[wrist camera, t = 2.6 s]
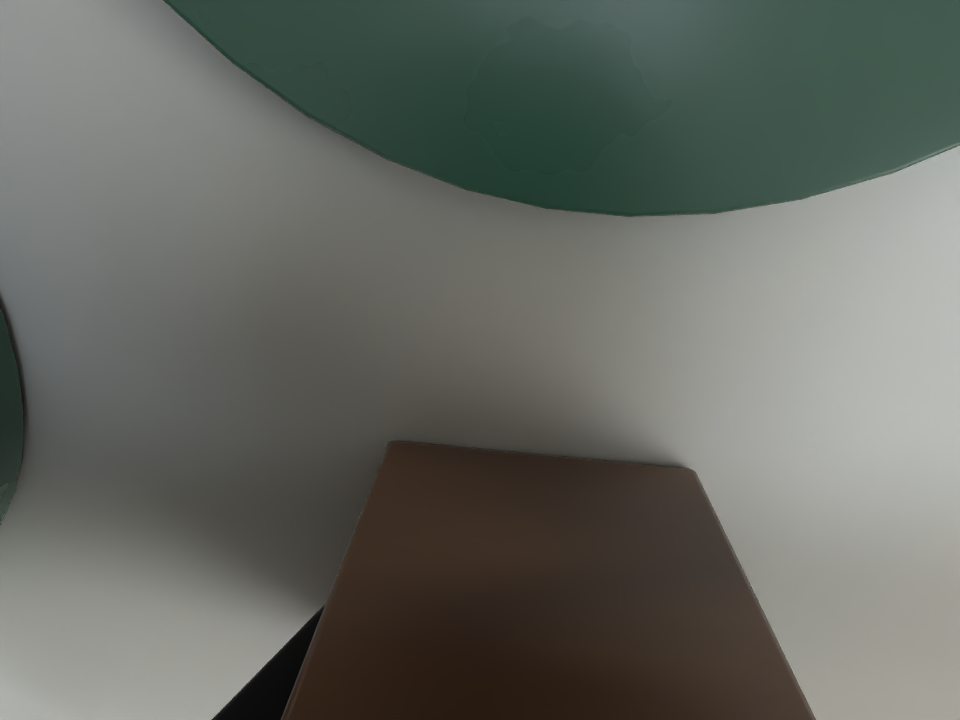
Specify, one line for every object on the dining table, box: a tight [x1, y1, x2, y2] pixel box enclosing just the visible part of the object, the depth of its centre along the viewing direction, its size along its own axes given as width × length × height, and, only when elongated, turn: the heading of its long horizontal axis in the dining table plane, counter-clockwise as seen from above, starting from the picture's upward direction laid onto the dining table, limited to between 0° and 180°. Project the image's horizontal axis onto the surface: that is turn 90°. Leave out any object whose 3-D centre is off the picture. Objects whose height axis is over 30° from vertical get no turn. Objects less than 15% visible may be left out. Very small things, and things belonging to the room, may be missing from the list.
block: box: [281, 441, 816, 720], centre depth 7 cm, size 4×4×4 cm
